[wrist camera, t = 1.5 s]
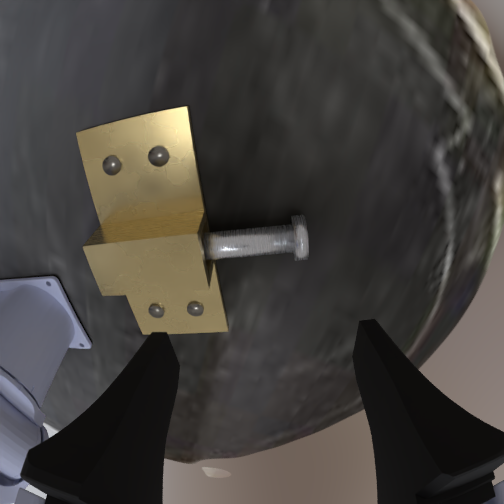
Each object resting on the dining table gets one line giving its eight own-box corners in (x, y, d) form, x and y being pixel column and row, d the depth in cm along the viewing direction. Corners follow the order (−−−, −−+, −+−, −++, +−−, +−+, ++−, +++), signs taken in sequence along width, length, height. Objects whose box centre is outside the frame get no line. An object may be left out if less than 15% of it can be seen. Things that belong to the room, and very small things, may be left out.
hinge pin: (168, 257, 20) (159, 281, 18) (159, 222, 19) (147, 242, 17) (302, 245, 20) (308, 268, 18) (301, 207, 19) (308, 227, 16)
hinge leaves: (144, 329, 24) (134, 360, 21) (80, 130, 16) (51, 143, 13) (228, 325, 24) (226, 359, 21) (188, 105, 16) (174, 111, 13)
